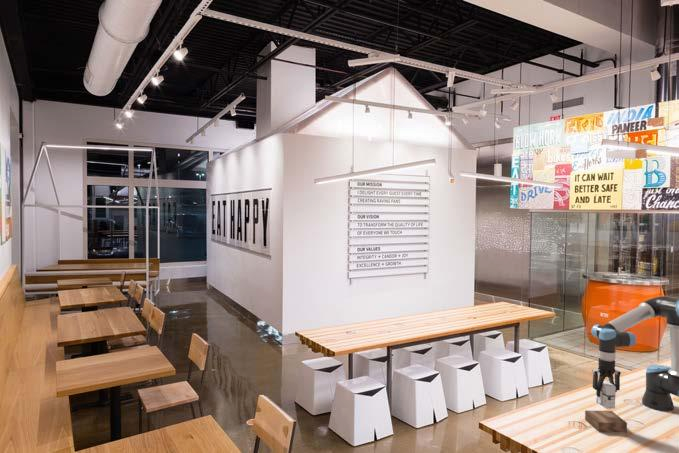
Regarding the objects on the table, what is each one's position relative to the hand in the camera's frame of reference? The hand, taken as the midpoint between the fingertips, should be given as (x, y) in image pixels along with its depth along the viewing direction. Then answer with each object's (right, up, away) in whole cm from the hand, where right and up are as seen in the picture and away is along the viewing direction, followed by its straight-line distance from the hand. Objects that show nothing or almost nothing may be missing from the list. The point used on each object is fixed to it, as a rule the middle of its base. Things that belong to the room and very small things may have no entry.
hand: (605, 402), depth 241 cm
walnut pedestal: (0, -12, 0) cm, 12 cm away
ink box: (0, -2, 0) cm, 2 cm away
